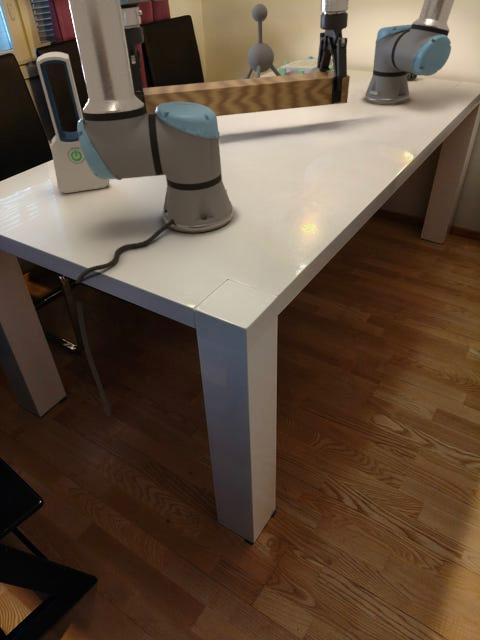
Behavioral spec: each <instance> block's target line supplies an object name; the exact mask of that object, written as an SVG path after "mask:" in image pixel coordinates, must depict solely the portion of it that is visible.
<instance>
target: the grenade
mask: <svg viewBox="0 0 480 640" xmlns="http://www.w3.org/2000/svg"><path fill="white" fill-rule="evenodd" d="M417 78H418V75H416V74H414V73H409V72H407V81H414V80H415V79H417Z"/></svg>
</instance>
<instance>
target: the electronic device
mask: <svg viewBox="0 0 480 640" xmlns="http://www.w3.org/2000/svg"><path fill="white" fill-rule="evenodd" d="M55 63H57V64H62V65H63V68H64V72H65V77H66V81H67V85H68V89H69V93H70V97H71V101H72V104H73V105H72V106H73V109H74V113H75V117H76V121H77V123H78V121H79V120H81V119H82V118H84V114H83V109H82V107H81V102H80V99H79V94H78V89H77V86H76V81H75V77H74V73H73V69H72V64H71V59H70V56H69V54H68V53H65V52H62V51H49V52H46V53H42V54H41V55H40V56H38V57H37V59H36V62H35V64H36V67H37V71H38V75H39V79H40V82H41V86H42V90H43V93H44V96H45V101H46V104H47V108H48V111H49V115H50V119H51V122H52V126H53V129H54V133H55V135H54V136H53V137H52V139H51V144H50V150H51V155H52V156H51V157H52V161H53V166H54V173H55V178H56V184H57V188H58V190H59V191H60V192H62V193H63V194H69V193H76V192H77V193H78V192H83V191H90V190H98V189H103V188H107V187H108V184H109V183H110V179H100V178H98V177H96V176H95V175H94V174H93V172H92V171H91V170H90V168H89V166H88V164H87V162H86V160H85V157H84V154H83V152H82V149H81V145H80V142H79V134H78V131H77V130H75V131H64V130H63V127H62V122H61V119H60V115H59V111H58V108H57V104H56V100H55V96H54V93H53V90H52V85H51V81H50V78H49V74H48V73H49V72H48V71H47V66H46V65H49V64H55Z"/></svg>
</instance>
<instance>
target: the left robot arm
mask: <svg viewBox="0 0 480 640" xmlns="http://www.w3.org/2000/svg"><path fill="white" fill-rule="evenodd" d="M160 1H161V2H162V1H163V2H164V0H68V4H69V5H68V6H69V10H70V14H71V19H72V25H73V29H74V34H75V38H76V39H75V40H76V43H77V48H78V49H77V50H78V53H79V58H80V64H81V68H82V73H83V77H84V82H85V88H86V92H87V97H88V99H87V102H86V103H85V105H84V106H83V108H82V115H83V118H82V119H81V120H79V121H78V122H77V125H76V129H77V130H76V131H78V134H79V142H80V145H81V149H82V152H83V154H84V157H85V160H86V162H87V164H88V166H89V168H90V170H91V171H92V172H93V174H94V175H95V176H96V177H98V178H100V179H109V180H117V181H121V180H124V179H133V178H144V177H145V178H146V177H155V176H165V180H166V190H165V191H166V192H165V196H164V203H163V207H162V218H163V222H164V225H162V227H160V228H159V229H157V230H156V231H155V232H154V233H153V234H152V235H151V236H150V237H149V238H147V239H146V240H143V241H140V242H136V243H128V244H124V245H122V246H119V247H118V248H117V249H116V250H115V252H114V255H113V258H112V259H111V260H110V261H109V262H106V263H101V264H98V265H94V266H90V267H88V268H86V269H85V270H83V271H82V272H81V273H80V274H79V275H78V277H77V279H76V281H75V284H80V283H82V281H83V279H84V278H85V277H86V276H87V275H89V274H90V273H92V272H96V271H101V270H105V269H108V268H111V267H112V266H114V265H115V264H116V263H117V262H118V260H119V256H120V254H121V252H123V251H125V250H129V249H135V248H140V247H144V246H146V245H148V244H151V243H152V242H153V241H154V240H155V239H157V238H158V236H159V235H160V234H162V233H163V232H164V231H166V230H167V229H168V228H169V229H171V230H173V231H177V232H180V233H190V234H191V233H192V234H193V233H194V234H195V233H196V234H197V233H205V232H206V233H207V232H210V231H215V230H216V229H220V228H222V227H224V226H226V225H227V224H228V223H230V221H231V220H232V218H233V216H234V212H233V211H234V210H233V205H232V201H231V200H230V197H229V195H228V190H227V189H226V187H225V184H224V182H223V175H222V174H223V173H222V164H221V153H220V152H221V150H220V139H219V138H220V136H221V135H220V130H219V125H218V118H217V117H218V116H216V114H215V113H214V111H213V110H211V109H210V108H208V107H206V106H204V105H201V104H197V103H191V102H169V103H162V104H159V105H158V106H157V108H156V111H155V112H156V114H147V110H146V104H145V98H144V92H143V88H145V86H144V84H143V81H142V75H141V70H142V65H141V54H140V51H139V50H137V48H136V45H142V44H143V43H144V42H145V37H144V33H143V32H144V31H143V30H144V29H143V28H142V26H140V25H141V24H142V19H141V15H143V11H142V10H140V7H139V6H140V4H139V3H146V2H147V3H148V2H160ZM136 91H141V92H136ZM76 308H77V316H78V323H79V329H80V334H81V339H82V343H83V347H84V350H85V351H84V352H85V354H86V357H87V361H88V364H89V367H90V369H91V373H92V376H93V378H94V380H95V381H94V382H95V383H96V386H97V389H98V391H99V394H100V398H101V400H102V403H103V407H104V410H105V413H106V416H107V417H110V416H112V414H111V410H110V406H109V403H108V400H107V397H106V393H105V391H104V388H103V385H102V382H101V379H100V376H99V373H98V371H97V368H96V365H95V362H94V359H93V355H92V352H91V348H90V346H89V340H88V336H87V332H86V331H87V330H86V327H85V320H84V313H83V312H84V311H83V303H82V301H78V300H76Z"/></svg>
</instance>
